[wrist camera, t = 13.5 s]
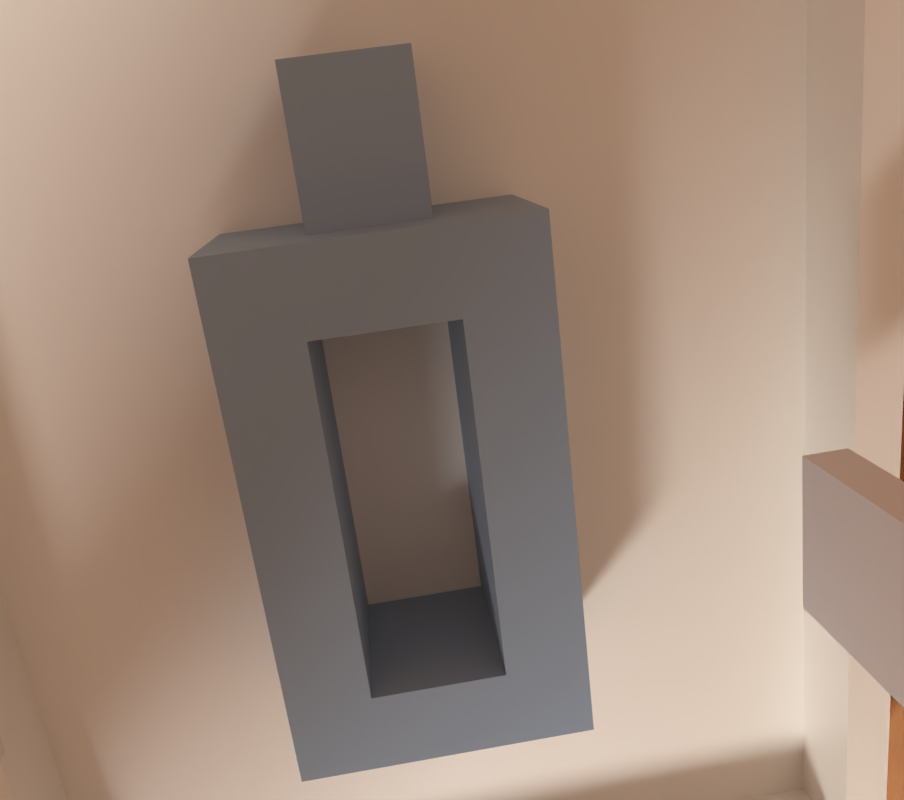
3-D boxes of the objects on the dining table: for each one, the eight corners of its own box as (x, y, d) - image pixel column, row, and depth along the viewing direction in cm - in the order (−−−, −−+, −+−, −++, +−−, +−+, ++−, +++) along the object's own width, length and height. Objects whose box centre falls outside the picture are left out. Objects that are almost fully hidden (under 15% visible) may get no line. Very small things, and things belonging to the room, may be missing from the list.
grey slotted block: (555, 634, 20) (593, 729, 17) (310, 676, 20) (301, 782, 17) (496, 43, 16) (533, 22, 13) (188, 82, 16) (146, 69, 13)
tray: (87, 922, 22) (48, 1036, 20) (-259, -112, 15) (-402, -170, 12) (819, 784, 24) (882, 873, 21) (832, -227, 16) (932, -303, 14)
